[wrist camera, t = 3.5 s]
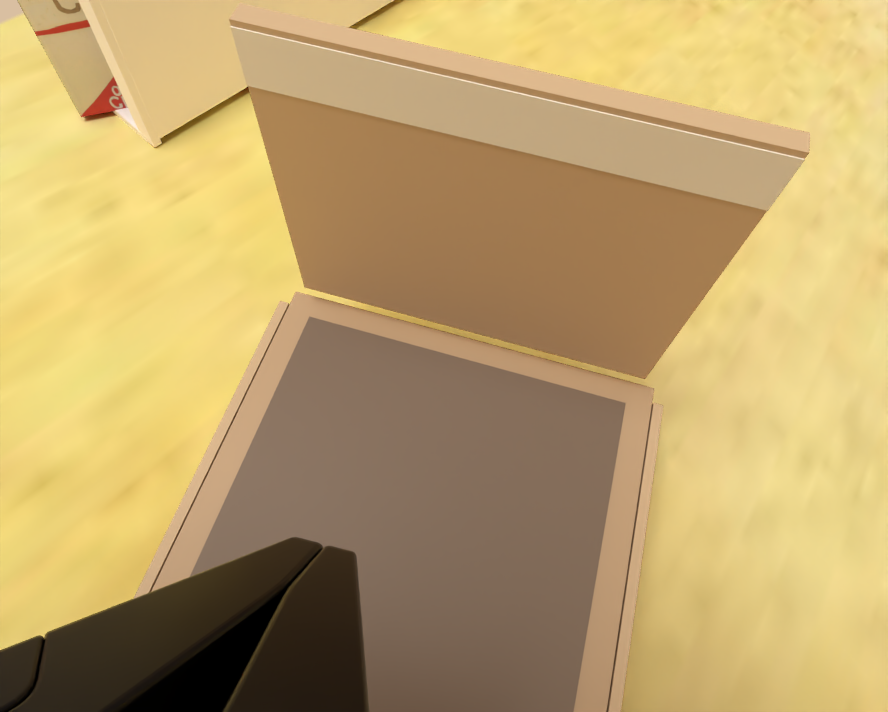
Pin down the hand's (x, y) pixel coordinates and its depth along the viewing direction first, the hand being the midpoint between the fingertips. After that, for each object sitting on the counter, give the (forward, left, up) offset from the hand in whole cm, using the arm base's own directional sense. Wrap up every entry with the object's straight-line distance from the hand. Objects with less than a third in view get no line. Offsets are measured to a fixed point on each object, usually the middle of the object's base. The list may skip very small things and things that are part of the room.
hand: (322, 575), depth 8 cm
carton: (+1, -1, -13) cm, 13 cm away
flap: (+6, -7, -4) cm, 10 cm away
